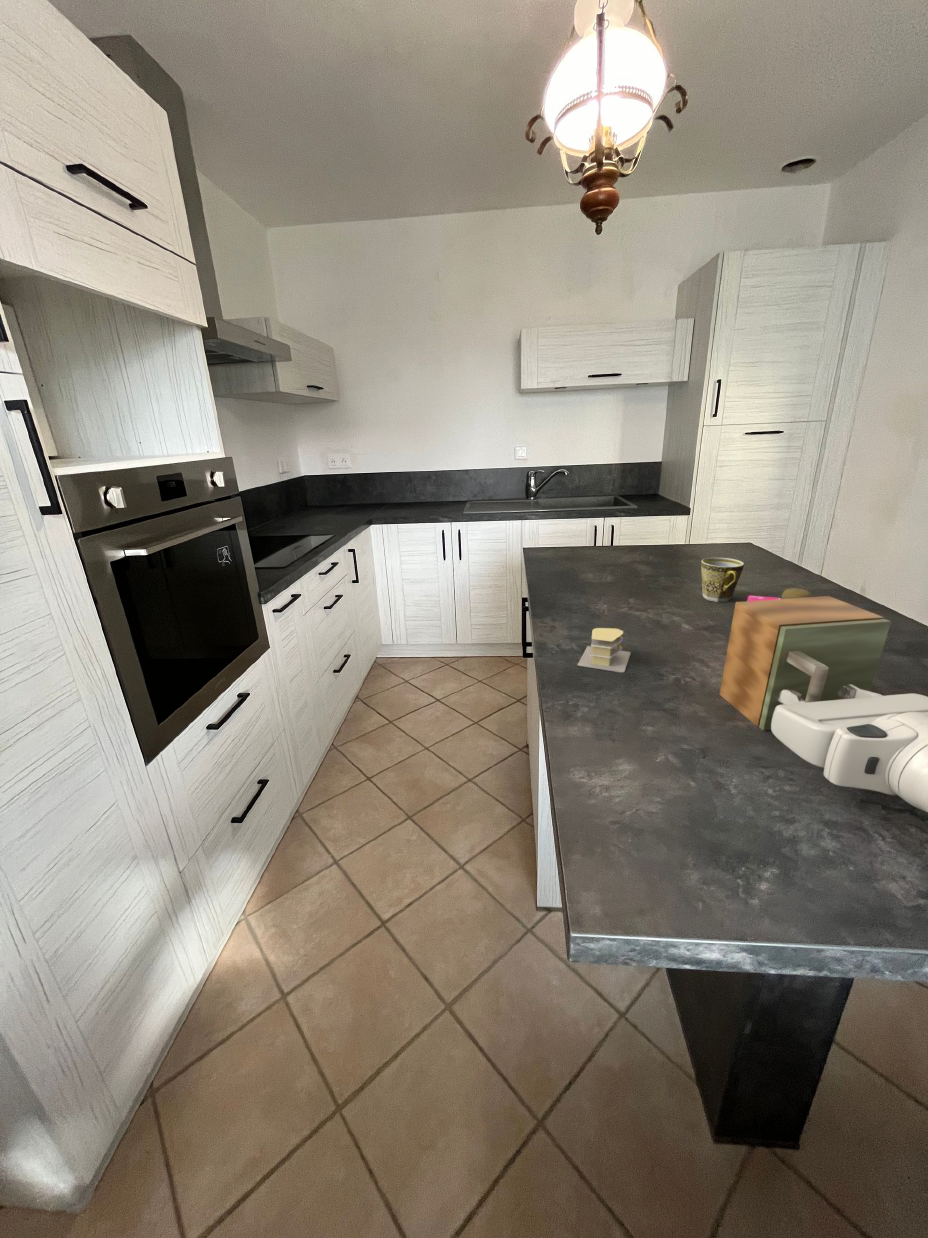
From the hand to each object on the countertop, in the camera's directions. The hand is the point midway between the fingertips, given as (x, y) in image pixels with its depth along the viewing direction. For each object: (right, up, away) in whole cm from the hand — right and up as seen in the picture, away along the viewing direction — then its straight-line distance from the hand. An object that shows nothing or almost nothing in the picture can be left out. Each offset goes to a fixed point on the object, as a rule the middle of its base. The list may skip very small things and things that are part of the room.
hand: (814, 691), depth 66 cm
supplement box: (+12, +3, +33) cm, 35 cm away
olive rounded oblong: (+22, +5, +39) cm, 46 cm away
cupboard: (+5, -5, +14) cm, 16 cm away
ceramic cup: (+20, +15, +63) cm, 68 cm away
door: (+6, -7, +6) cm, 11 cm away
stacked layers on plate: (-19, +2, +33) cm, 38 cm away
